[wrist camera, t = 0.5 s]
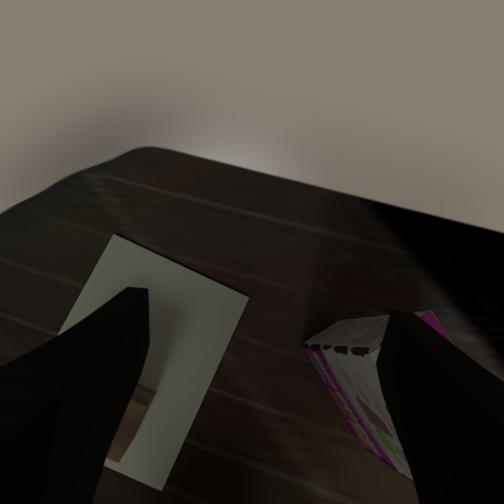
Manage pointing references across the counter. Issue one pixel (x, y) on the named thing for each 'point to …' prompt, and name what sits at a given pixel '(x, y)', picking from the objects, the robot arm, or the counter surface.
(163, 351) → the cream board
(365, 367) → the candy bar box
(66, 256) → the counter surface
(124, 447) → the walnut block
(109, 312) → the robot arm
